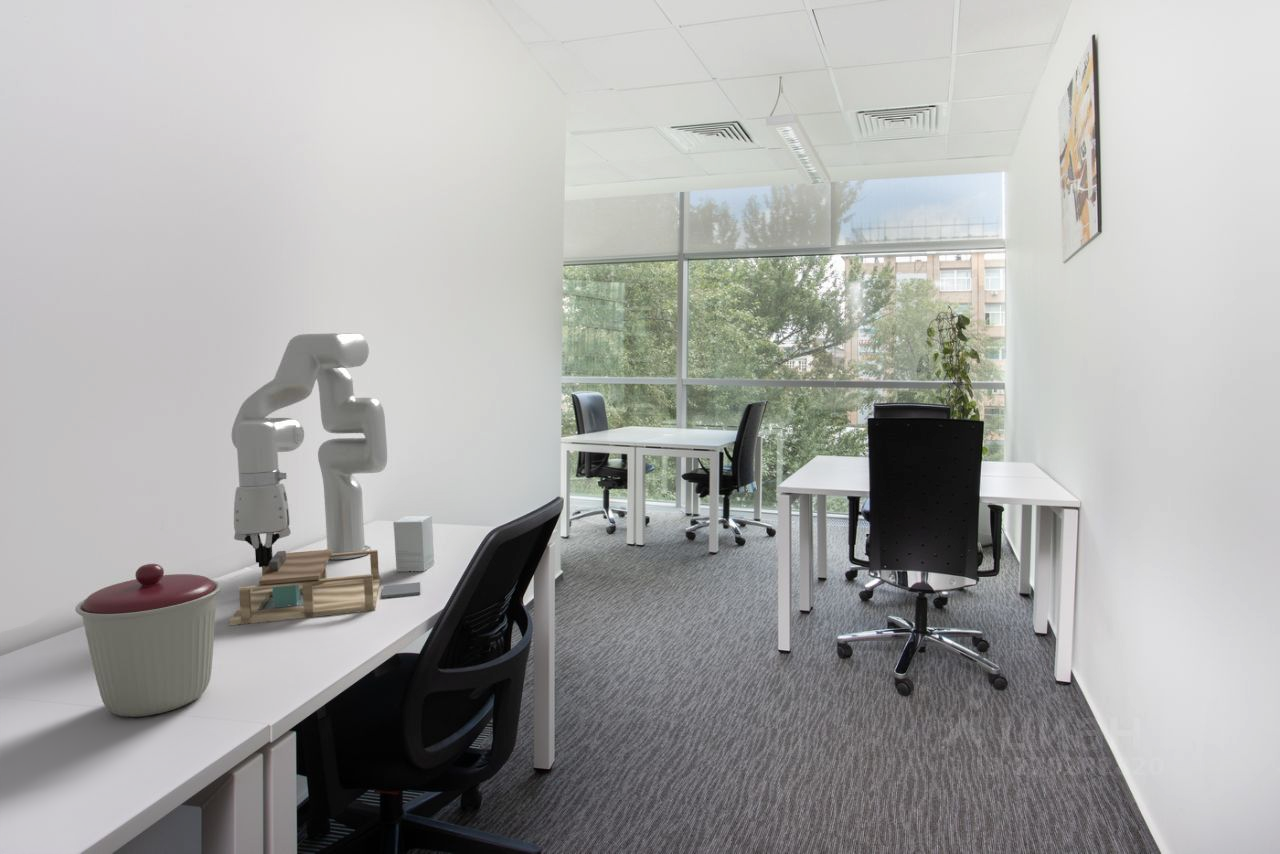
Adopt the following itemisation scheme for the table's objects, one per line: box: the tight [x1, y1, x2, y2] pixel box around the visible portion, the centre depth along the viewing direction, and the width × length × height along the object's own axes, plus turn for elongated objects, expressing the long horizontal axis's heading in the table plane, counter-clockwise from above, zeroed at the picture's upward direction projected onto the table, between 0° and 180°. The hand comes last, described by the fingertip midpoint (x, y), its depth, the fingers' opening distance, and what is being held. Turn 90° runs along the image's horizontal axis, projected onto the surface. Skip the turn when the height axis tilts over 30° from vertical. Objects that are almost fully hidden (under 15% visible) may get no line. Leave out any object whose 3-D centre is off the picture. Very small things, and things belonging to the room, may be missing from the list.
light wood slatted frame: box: [228, 549, 381, 626], centre depth 161 cm, size 24×27×7 cm
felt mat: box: [381, 581, 421, 599], centre depth 167 cm, size 8×8×1 cm
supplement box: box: [393, 515, 435, 573], centre depth 186 cm, size 7×7×13 cm
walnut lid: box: [258, 549, 332, 585], centre depth 160 cm, size 24×11×3 cm, turn 17°
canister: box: [75, 563, 222, 718], centre depth 112 cm, size 18×18×21 cm
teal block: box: [272, 585, 301, 608], centre depth 160 cm, size 4×4×7 cm
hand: (264, 565), depth 159 cm, fingers closed
